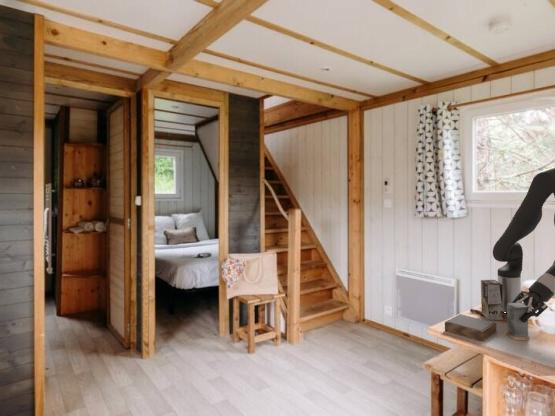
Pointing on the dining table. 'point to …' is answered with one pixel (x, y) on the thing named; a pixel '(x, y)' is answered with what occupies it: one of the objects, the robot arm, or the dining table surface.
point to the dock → (471, 327)
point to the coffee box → (492, 299)
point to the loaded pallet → (516, 321)
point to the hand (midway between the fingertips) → (515, 317)
